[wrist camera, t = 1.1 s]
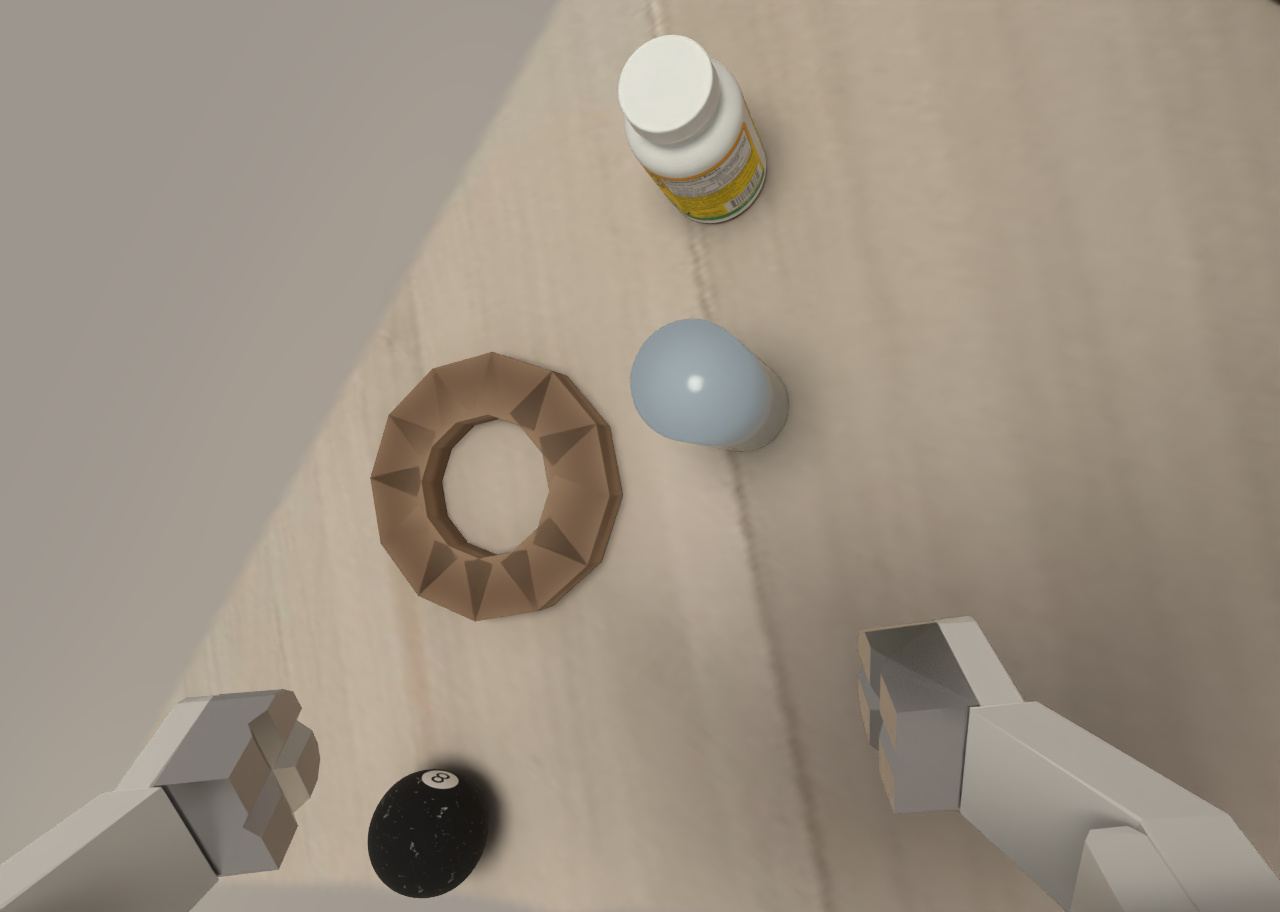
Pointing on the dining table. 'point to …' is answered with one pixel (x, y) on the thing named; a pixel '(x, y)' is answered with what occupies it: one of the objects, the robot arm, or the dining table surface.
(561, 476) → the walnut ring
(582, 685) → the dining table surface
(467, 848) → the billiard ball
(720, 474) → the dining table surface
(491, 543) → the dining table surface
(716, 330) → the slate ceramic shaker
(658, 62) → the supplement bottle
